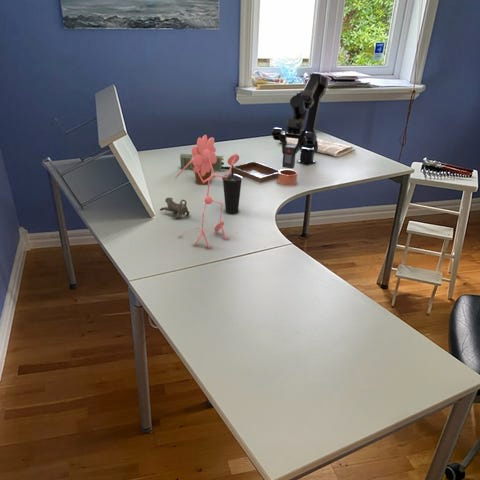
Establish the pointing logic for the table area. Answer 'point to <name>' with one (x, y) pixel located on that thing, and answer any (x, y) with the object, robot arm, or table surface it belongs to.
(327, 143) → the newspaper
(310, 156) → the robot arm
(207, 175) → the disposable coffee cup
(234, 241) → the table surface
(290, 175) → the holder cup
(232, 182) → the drinking cup
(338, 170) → the table surface
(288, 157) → the dark grey block
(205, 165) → the figurine
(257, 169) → the tray
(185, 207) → the dog figurine
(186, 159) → the handheld radio
